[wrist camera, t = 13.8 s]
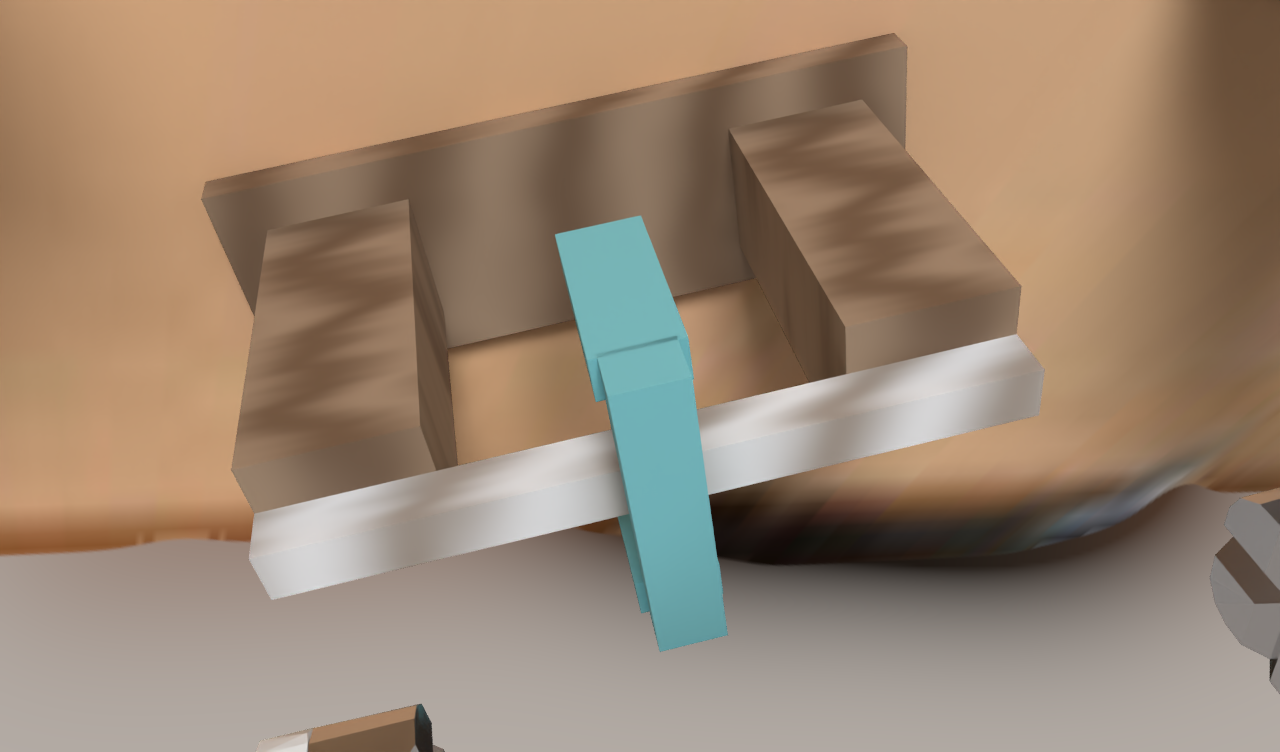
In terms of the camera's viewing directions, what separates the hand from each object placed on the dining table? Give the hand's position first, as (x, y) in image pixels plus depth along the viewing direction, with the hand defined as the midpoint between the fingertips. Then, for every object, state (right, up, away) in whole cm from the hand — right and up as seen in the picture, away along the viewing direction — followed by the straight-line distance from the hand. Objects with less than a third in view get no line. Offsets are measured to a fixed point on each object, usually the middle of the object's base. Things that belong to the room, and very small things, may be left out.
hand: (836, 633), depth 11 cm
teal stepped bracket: (-3, +3, +30) cm, 30 cm away
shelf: (-5, +10, +39) cm, 40 cm away
